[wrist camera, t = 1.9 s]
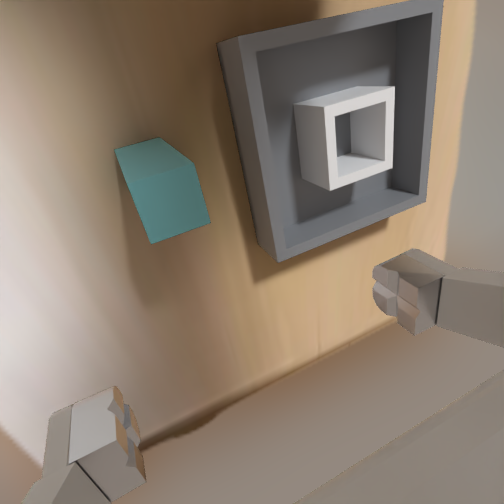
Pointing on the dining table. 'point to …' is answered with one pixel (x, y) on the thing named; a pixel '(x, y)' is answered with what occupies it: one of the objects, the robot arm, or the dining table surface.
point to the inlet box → (334, 120)
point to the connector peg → (163, 188)
